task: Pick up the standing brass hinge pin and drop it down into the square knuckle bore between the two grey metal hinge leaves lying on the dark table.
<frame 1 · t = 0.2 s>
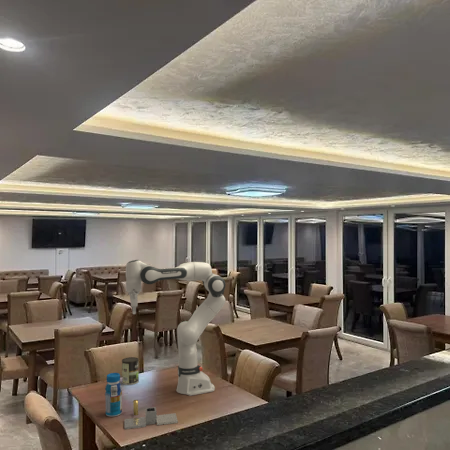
hand: (134, 312, 241), 47 cm above the table, tool pointing down, fingers open, 8 cm apart
coffee can: (130, 382, 262), on the table
pin: (135, 414, 215), on the table
beverage bottle: (113, 414, 216), on the table
hinge leaves: (150, 422, 206), on the table
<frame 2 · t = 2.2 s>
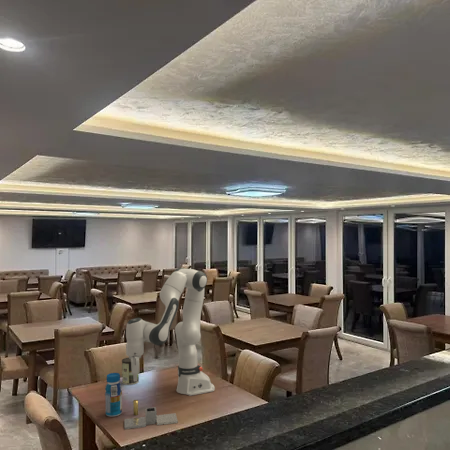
hand: (135, 377, 215), 19 cm above the table, tool pointing down, fingers open, 8 cm apart
nothing on the table moved.
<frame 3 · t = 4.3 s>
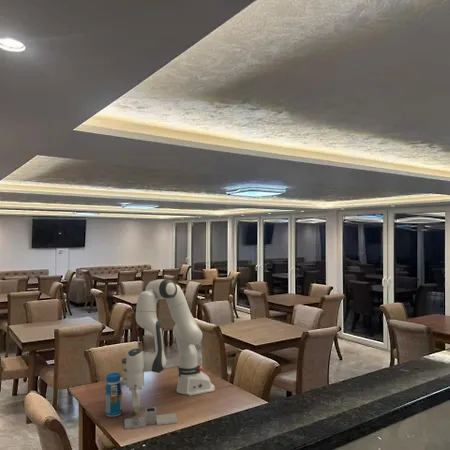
hand: (135, 409, 215), 3 cm above the table, tool pointing down, fingers closed on pin, 2 cm apart
pin: (135, 414, 215), on the table, touching gripper
everything else where it was.
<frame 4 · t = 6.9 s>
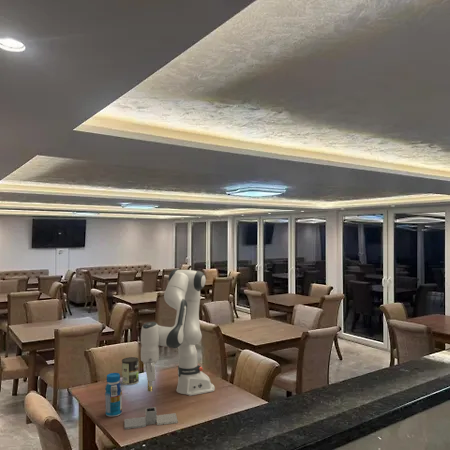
hand: (150, 384, 206), 18 cm above the table, tool pointing down, fingers closed on pin, 2 cm apart
pin: (150, 390, 206), point 15 cm above the table, touching gripper
everything else where it was.
when the fingers open (7 cm above the table, at t = 9.4 s): pin drops 4 cm, resting in hinge leaves.
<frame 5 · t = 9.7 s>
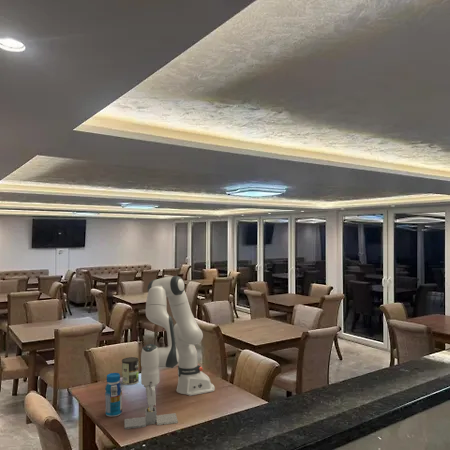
hand: (150, 407, 206), 7 cm above the table, tool pointing down, fingers open, 5 cm apart
pin: (150, 421, 206), resting in hinge leaves
everything else where it was.
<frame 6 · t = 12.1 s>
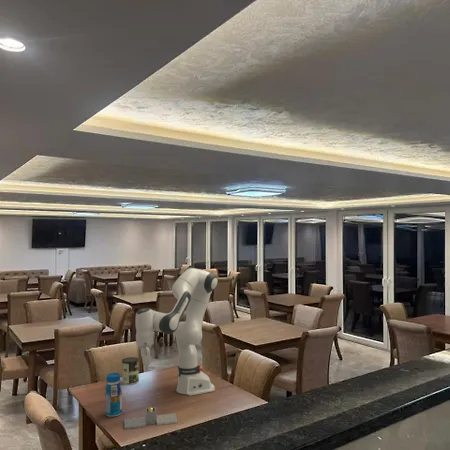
hand: (145, 368, 213), 24 cm above the table, tool pointing down, fingers open, 8 cm apart
nothing on the table moved.
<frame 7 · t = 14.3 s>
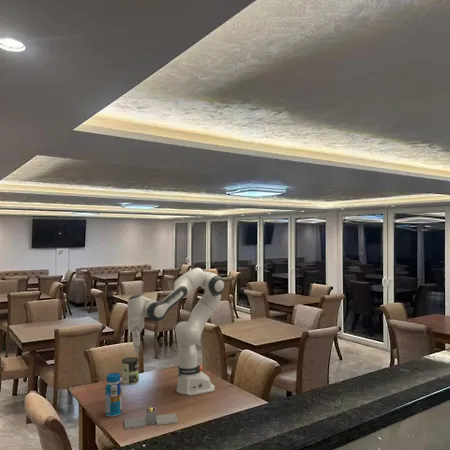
hand: (136, 350, 227), 29 cm above the table, tool pointing down, fingers open, 8 cm apart
nothing on the table moved.
at the end: pin 0.1 cm off-centre on the hinge leaves, point 0.0 cm above the hinge leaves's base; pin tilted 0°; the gripper is holding nothing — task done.
